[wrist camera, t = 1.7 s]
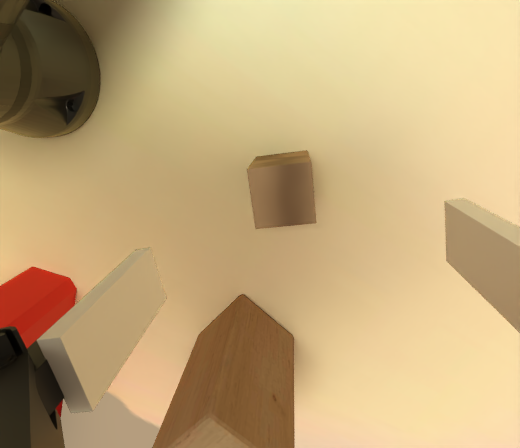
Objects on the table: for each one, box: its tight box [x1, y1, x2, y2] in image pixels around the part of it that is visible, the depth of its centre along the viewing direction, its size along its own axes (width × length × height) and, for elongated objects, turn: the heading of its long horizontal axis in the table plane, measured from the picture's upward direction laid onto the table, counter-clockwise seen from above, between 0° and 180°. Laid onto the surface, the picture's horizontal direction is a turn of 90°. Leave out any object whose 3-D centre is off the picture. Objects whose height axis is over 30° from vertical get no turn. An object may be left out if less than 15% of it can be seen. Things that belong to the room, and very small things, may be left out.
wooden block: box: [152, 295, 294, 448], centre depth 39 cm, size 10×10×20 cm
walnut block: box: [247, 151, 316, 229], centre depth 37 cm, size 6×6×9 cm
